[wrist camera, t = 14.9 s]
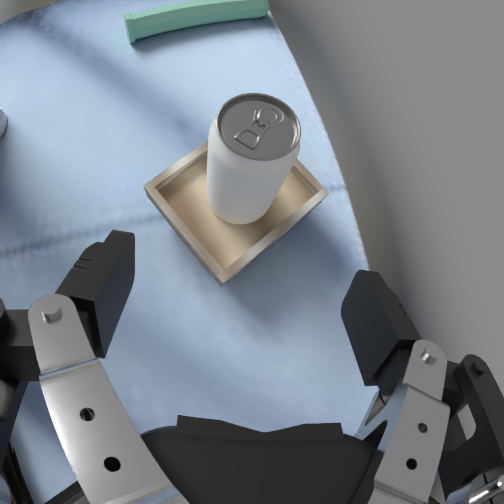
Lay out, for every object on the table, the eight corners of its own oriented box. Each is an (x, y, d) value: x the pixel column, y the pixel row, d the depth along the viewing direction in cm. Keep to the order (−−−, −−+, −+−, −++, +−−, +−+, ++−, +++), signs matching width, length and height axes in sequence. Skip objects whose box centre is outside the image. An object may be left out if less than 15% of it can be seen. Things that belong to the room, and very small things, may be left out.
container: (266, -14, 39) (123, 7, 33) (277, 9, 40) (129, 33, 34) (256, 2, 45) (125, 25, 39) (266, 25, 46) (131, 50, 40)
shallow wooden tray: (219, 289, 33) (223, 283, 27) (152, 206, 33) (143, 185, 28) (311, 212, 36) (329, 193, 31) (245, 141, 37) (252, 114, 32)
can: (282, 189, 31) (322, 120, 20) (248, 239, 30) (276, 185, 18) (230, 155, 31) (245, 75, 20) (192, 201, 30) (188, 131, 18)
